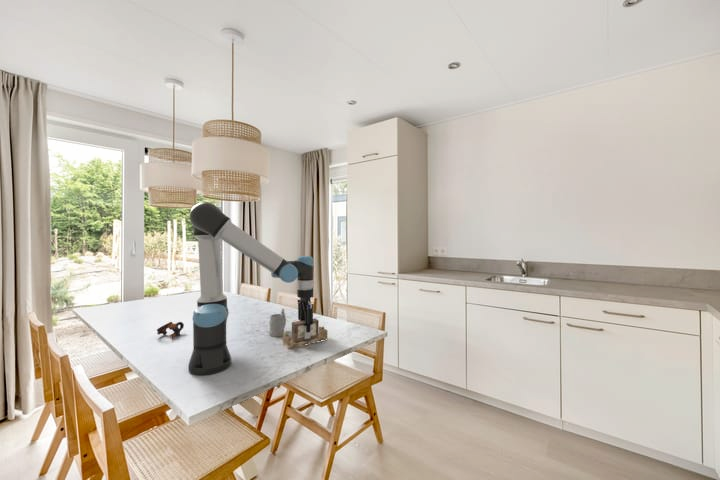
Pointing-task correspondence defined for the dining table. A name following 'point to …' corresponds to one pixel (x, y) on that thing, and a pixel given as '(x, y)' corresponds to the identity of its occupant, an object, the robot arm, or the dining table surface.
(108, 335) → the dining table surface
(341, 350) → the dining table surface
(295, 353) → the dining table surface
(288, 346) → the ledge
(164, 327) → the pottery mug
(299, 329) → the frame
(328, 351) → the dining table surface
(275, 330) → the mug
